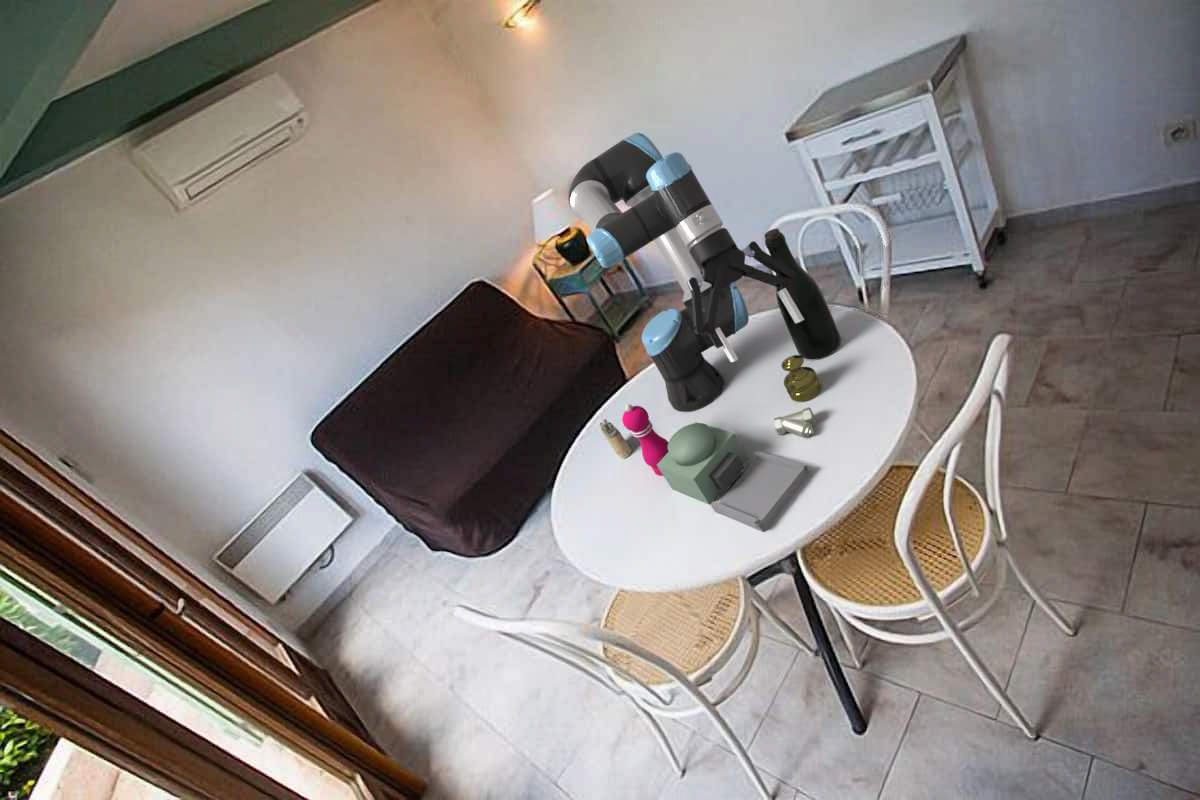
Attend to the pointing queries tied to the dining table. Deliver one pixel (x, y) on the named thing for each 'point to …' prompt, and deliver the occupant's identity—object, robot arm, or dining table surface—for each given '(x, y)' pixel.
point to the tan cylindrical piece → (615, 439)
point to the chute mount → (762, 490)
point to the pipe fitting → (796, 423)
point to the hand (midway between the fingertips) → (767, 341)
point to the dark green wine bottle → (804, 305)
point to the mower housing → (702, 461)
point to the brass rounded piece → (800, 379)
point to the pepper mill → (645, 436)
